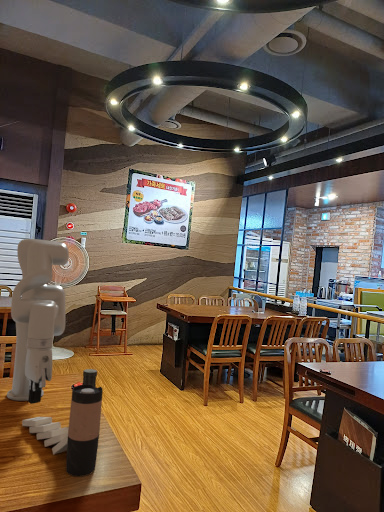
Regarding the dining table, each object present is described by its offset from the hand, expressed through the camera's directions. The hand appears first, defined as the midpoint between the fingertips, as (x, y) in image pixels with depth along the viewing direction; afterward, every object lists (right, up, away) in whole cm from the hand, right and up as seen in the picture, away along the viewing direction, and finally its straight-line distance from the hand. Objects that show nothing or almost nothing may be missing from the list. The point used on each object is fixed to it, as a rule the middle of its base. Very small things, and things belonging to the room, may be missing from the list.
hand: (34, 402), depth 118 cm
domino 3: (+6, -7, -7) cm, 11 cm away
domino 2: (+2, -7, -3) cm, 8 cm away
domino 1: (-2, -6, +1) cm, 7 cm away
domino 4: (+10, -7, -11) cm, 16 cm away
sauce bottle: (+17, -9, -6) cm, 20 cm away
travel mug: (+21, -9, -22) cm, 31 cm away
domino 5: (+13, -7, -14) cm, 21 cm away
